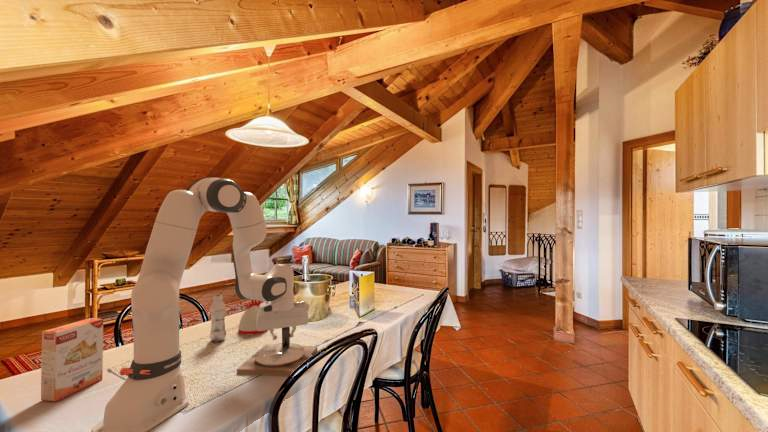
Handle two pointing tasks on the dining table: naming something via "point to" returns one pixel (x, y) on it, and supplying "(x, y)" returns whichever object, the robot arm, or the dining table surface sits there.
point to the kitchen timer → (250, 319)
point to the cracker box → (71, 358)
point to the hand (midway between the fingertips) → (283, 338)
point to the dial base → (286, 370)
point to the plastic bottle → (217, 319)
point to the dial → (280, 352)
